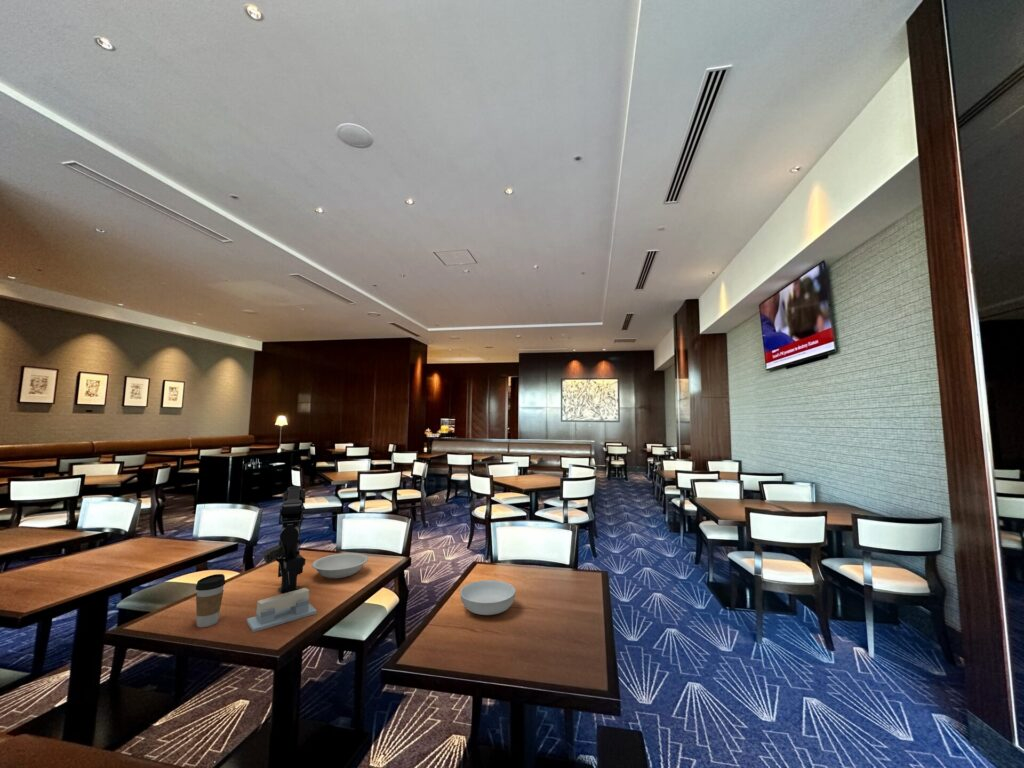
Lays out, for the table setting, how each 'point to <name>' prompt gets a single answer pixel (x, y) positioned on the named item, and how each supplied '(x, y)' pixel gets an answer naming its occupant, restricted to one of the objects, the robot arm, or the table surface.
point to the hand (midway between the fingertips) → (287, 581)
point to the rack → (280, 615)
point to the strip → (282, 600)
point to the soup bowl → (340, 564)
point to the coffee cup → (209, 599)
